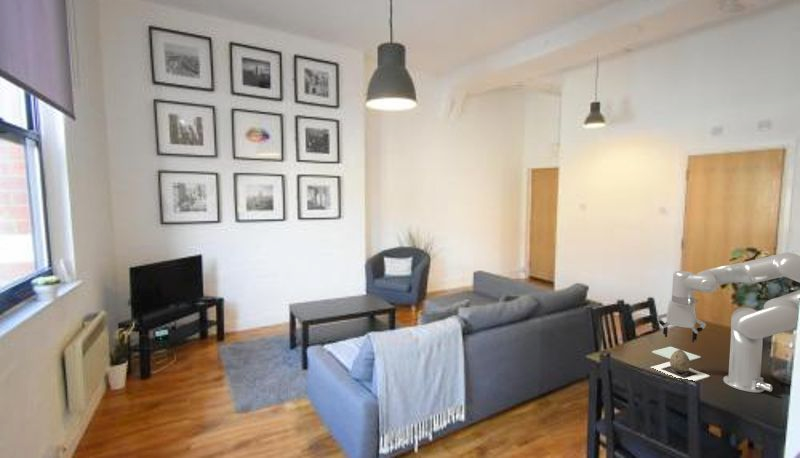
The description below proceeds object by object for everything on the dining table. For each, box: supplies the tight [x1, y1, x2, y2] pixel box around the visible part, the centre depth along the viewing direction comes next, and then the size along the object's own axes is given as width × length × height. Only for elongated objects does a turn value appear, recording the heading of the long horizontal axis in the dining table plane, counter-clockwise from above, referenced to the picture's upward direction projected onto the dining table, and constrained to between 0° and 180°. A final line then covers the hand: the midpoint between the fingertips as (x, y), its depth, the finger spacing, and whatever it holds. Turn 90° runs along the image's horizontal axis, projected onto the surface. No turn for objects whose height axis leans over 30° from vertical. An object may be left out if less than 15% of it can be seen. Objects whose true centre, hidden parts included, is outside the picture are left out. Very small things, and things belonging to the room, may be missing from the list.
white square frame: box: [650, 361, 711, 382], centre depth 170 cm, size 16×14×1 cm
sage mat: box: [651, 346, 702, 362], centre depth 188 cm, size 14×14×1 cm
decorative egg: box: [669, 349, 691, 374], centre depth 170 cm, size 7×7×10 cm
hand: (679, 338), depth 169 cm, fingers open, 9 cm apart
